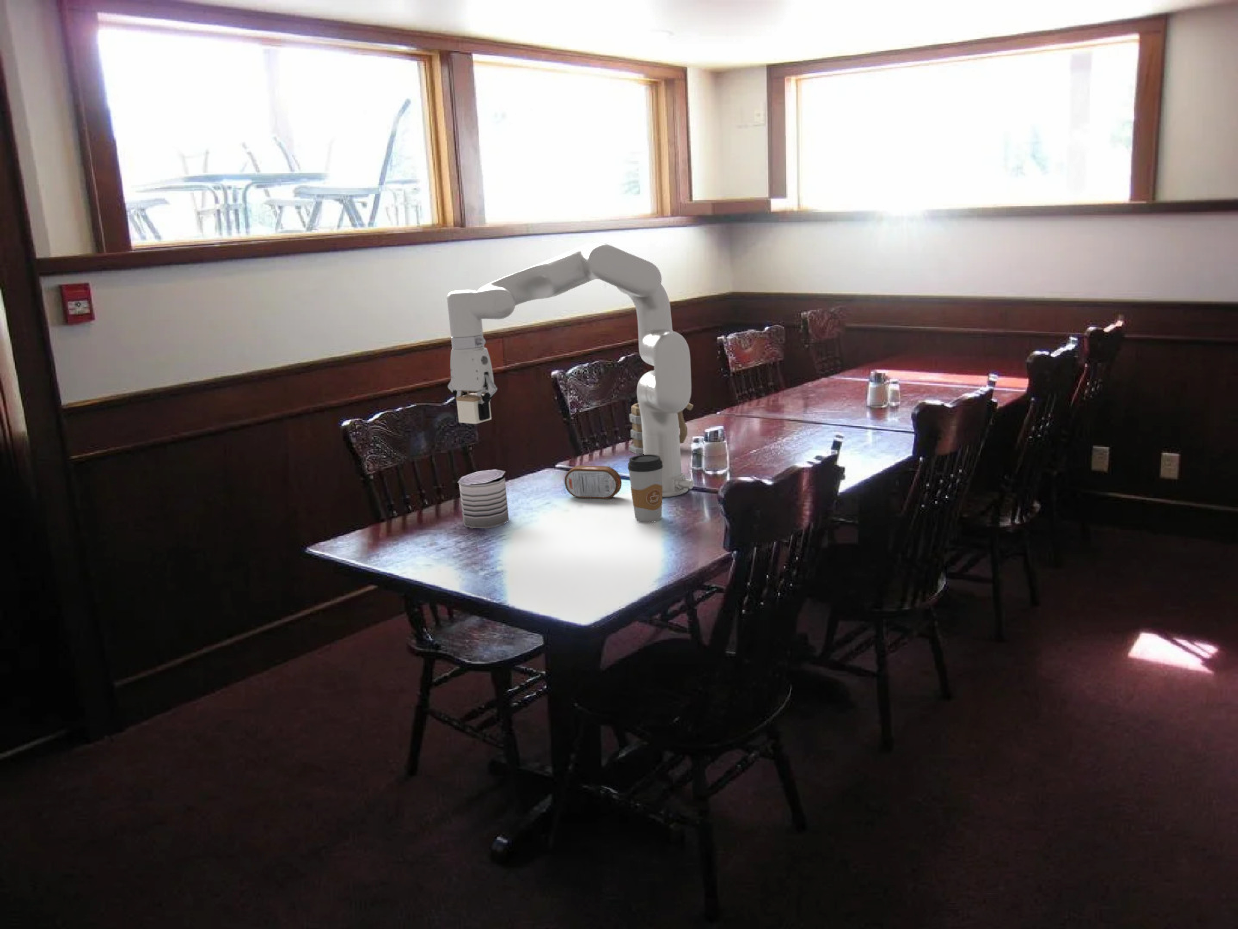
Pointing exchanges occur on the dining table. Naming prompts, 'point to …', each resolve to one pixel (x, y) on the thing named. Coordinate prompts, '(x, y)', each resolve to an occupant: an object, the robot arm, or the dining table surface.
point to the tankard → (637, 428)
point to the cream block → (469, 409)
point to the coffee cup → (646, 487)
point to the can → (484, 499)
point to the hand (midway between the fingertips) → (475, 417)
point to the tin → (593, 482)
